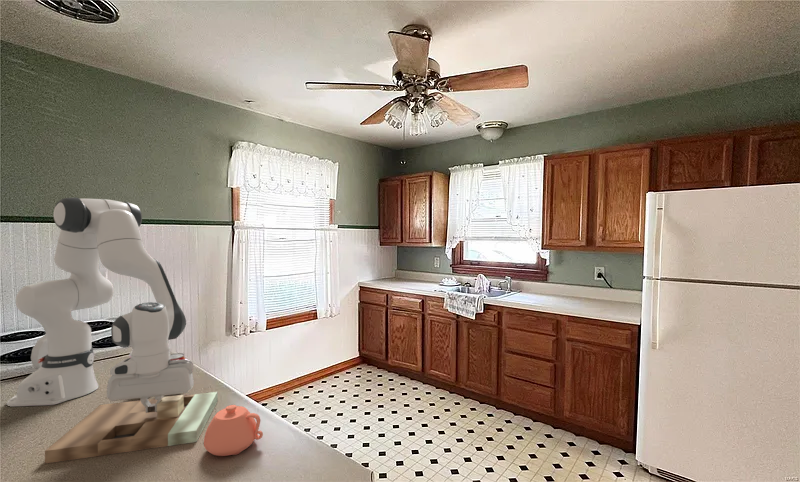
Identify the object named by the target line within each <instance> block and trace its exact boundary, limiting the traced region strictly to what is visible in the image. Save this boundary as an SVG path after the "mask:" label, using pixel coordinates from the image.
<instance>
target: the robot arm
mask: <svg viewBox="0 0 800 482" xmlns="http://www.w3.org/2000/svg"><path fill="white" fill-rule="evenodd" d="M53 221H54V224H55V225H56V227H58V228H59V230H60V232H59V234H58V240H57V243H56V247H55V253H54V258H53V261H54V263H55V265H56V266H57V268H59V269H61V270H62V271H63V272H67V273H70V277H69V278H65V279H55V280H54V279H53V280H43V281H39V282H35V283H32V284H31V283H30V284H27V285H24V286H23V287H21V288H20V290H19V291H18V292H17V294H16V297H15V304H16V308H17V310H19V312H21V313H22V314H23V315H26V316H28V317H30V318H32V319H34V320H36V321H37V322H38V323H39V324H40V325H41V326H42V327H43V328H42V329H44V332H45V334H46V337H47V346H48V355H46V356H44V357H42V358H41V359H39V360H40V361H39V362H38V363H40V362H42V367H40V368H39V369H38V370H37V369H35V370H34V372H32V373H31V374H29V375H28V376H27V377H25V378H24V379H23V380H22V381H21V382H20V383H19V384H18V386H17V391H16V394H15V395H14V396H12V397H11V398H9V399H8V400H7V401H6V405H8V406H10V407H29V406H54V405H58V404H61V403H64V402H66V401H69V400H73V399H76V398H77V399H78V398H80V397H83V396H86V395H88V394H91V393H93V392H94V391H96V390H97V389H98V388H99V383H98V381H97V378H96V374H95V371H94V361H95V360H94V359H95V355H94V347H92V327H91V326H90V325H89V324H88V323H87V322H84V321H81V320H77V319H75V318H74V317H73V316H72V311H79V310H85V309H86V310H87V309H90V308H95V307H98V306H101V305H104V304H107V303H109V302H110V301H111V299H112V298H113V296H114V294H115V293H114V292H115V288H114V286H113V285H114V284H113V283H112V281H111V280H110V279H108V278H107V277H105V276H104V275H103V274H102V273H101V271H100V268H99V267H100V266H99V263H100V262H101V264H102V266H103V267H105V268H106V269H108V270H109V271H110V272H112V273H114V274H118V275H121V276H126V277H130V278H135V279H138V280H141V281H143V282H145V283H146V284H147V285H148V286H149V287H150V289H151V292H152V294H153V297H154V299H155V302H151V301H149V302H142V303H139V304H136V305H134V307H133V308H132V311H130V312H128V313H125V314H123V315H119V316H118V317H117V318H115V320H114V321H113V323H112V325H111V326H110V327H111V330H110V331H111V333H110V334H111V341H112V343H113V344H115V345H116V346H118V347H120V348H122V349H123V348H125V349H127V348H132V349H131V351H132V357H131V358H130V357H127V358H126V359H122V360H121V361H119V362H118V363H116V364H114V365H113V366H112V367H111V368H110V369H109V374H110V375H111V376H110V377H109V378H108V380H107V385H106V386H107V387H106V398H107V400H109V401H110V402H117V401H125V400H135V399H136V400H137V399H140V400H141V403H142V404H143V405H144V407H146V413H150V412H157V404H158V403H159V402H160V401H161V400H162V398H163V397H165V396H174V395H183V394H188V393H190V391H191V390H192V389H193V387H194V385H195V383H194V382H195V381H194V375H193V372H194V363H193V362H192V361H191V360H188V359H187V358H186V359H182V360H170V355H171V347H170V344H169V340H170V341H171V340H175V339H177V338H178V337H180V336H181V334H183V332H184V331H185V328H186V326H187V319H186V315H185V314H184V312H183V310H182V308H181V307H180V305H179V303H178V301H177V299H176V297H175V293H174V292H173V291H174V290H173V289H172V286H171V283H170V282H169V279H168V277H167V274H166V273H165V270H164V268H163V266H162V264H161V262H160V261H159V260H158V259H157V258H154V257H152V256H151V255H150V253H149V252H148V251H147V249H146V247H145V245H144V240H143V237H142V232H141V229H140V227H141V225H142V221H143V215H142V210H141V209H140V208H139V206H138V205H137V204H134V203H131V202H128V201H120V200H119V201H118V200H115V199H108V198H107V199H106V198H84V197H83V198H81V197H80V198H79V197H65V198H64V197H63V198H61V199H60V200H58V201H57V202H56V204H55V205H54V209H53ZM99 261H100V262H99ZM152 397H153V398H154V397H155V398H154V399H155V400H157V402H156V403H155V404H151V403H150V402H149V400H148V399H150V398H152Z"/></svg>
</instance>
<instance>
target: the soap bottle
mask: <svg viewBox="0 0 800 482" xmlns="http://www.w3.org/2000/svg"><path fill="white" fill-rule="evenodd" d="M31 349H32V350H31V354H30V361H31V363H32V367H34V368H35V370H38V369H39V368H40V367H42V362H40V363H38V362H39V361H40V360H39V359H41V358H42V357H44V356H46V355H48V346H47V337H46V333H45V334H44V335H43V336H41V337H40V338H39V339H38V340H37V341H36V343H35V344H34V345H33V347H32V348H31Z"/></svg>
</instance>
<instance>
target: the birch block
mask: <svg viewBox="0 0 800 482" xmlns="http://www.w3.org/2000/svg"><path fill="white" fill-rule="evenodd" d="M184 395H185V394H175V395H166V396H164V397H163V399H162V400H161V401H160V402H159V403H158V404H157V419H163V418H171V417H178V416H179V414H180V413H181V412H182V410H183V409H184Z"/></svg>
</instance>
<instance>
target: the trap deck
mask: <svg viewBox="0 0 800 482" xmlns="http://www.w3.org/2000/svg"><path fill="white" fill-rule="evenodd" d="M183 395H184V409H183V410H182V412H181V413H180V414H179V416H178V417H171V418H163V419H157V412H150V413H146V407H144V405H143V404H142V403H141V399H140V400H133V401H132V400H131V401H123V402H114V403H106V404H99V405H98V406H97V407H95V409H93V410H92V411H91V412H89V413H88V414H87V415H86V416H85V417H83V419H82V420H80V421H79V422H78V423H76V424H75V425H74V426H73V427H71V428H70V429H69V430H68V431H67V432H66V433H65V434H63V435H62V436H61V437H60V438H58V439H57V440H56V441H55V442H53V443H52V444H51V445H50V446H49V447H48V448H46V450H44V464H50V463H51V464H52V463H58V462H65V461H67V462H68V461H73V460H80V459H86V458H94V457H101V456H107V455H109V456H110V455H114V454H115V455H116V454H122V453H127V452H128V453H129V452H135V451H143V450H149V449H150V450H151V449H158V448H164V447H170V446H172V447H173V446H177V445H185V444H191V443H193V444H194V443H197V442H198V440H199V438H200V437H201V434H202V433H203V430H204V428H205V427H206V425H207V423H208V421H209V419H210V417H211V414H212V413H213V412H214V410H215V407H216V405H217V403H218V402H219V401H218V400H219V394H218V391H211V392H203V393H202V392H201V393H195V394H183ZM162 399H163V398H162ZM148 400H149V402H150V403H151V404H155V403H156V402H157V400H155V398H148Z"/></svg>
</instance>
